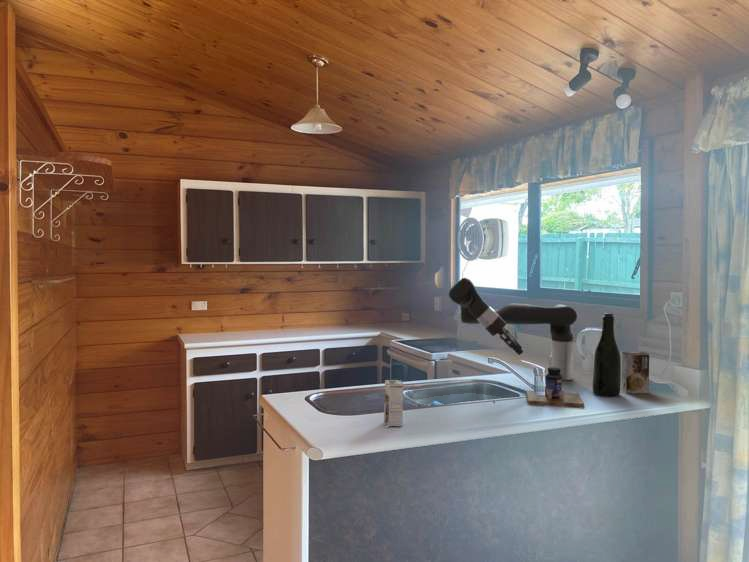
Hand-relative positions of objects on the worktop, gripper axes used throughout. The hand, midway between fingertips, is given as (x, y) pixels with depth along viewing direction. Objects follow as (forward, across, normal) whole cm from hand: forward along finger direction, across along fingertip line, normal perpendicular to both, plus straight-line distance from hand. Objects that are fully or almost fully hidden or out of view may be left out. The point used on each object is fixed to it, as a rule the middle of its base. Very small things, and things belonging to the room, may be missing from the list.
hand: (520, 351), depth 230 cm
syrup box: (-17, +44, -44) cm, 64 cm away
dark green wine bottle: (+38, -15, +11) cm, 42 cm away
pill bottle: (+21, 0, -3) cm, 21 cm away
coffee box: (+46, -23, +20) cm, 55 cm away
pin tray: (+22, 0, -4) cm, 23 cm away
